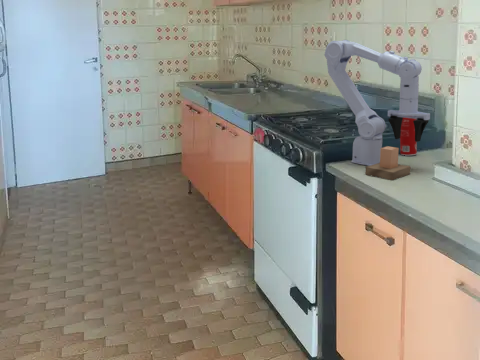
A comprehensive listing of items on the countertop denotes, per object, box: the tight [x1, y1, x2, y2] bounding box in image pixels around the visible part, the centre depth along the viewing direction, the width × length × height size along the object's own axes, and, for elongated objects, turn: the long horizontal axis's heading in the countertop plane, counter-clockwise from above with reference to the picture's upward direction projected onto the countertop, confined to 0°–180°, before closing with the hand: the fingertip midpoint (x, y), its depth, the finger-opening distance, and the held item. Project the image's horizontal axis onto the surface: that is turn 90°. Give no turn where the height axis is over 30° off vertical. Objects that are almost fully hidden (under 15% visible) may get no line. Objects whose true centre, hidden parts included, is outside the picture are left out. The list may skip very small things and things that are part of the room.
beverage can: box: [399, 118, 418, 157], centre depth 206 cm, size 6×6×15 cm
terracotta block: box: [380, 145, 400, 169], centre depth 181 cm, size 4×4×6 cm
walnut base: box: [364, 163, 411, 181], centre depth 182 cm, size 10×10×2 cm
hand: (407, 139), depth 188 cm, fingers open, 7 cm apart
